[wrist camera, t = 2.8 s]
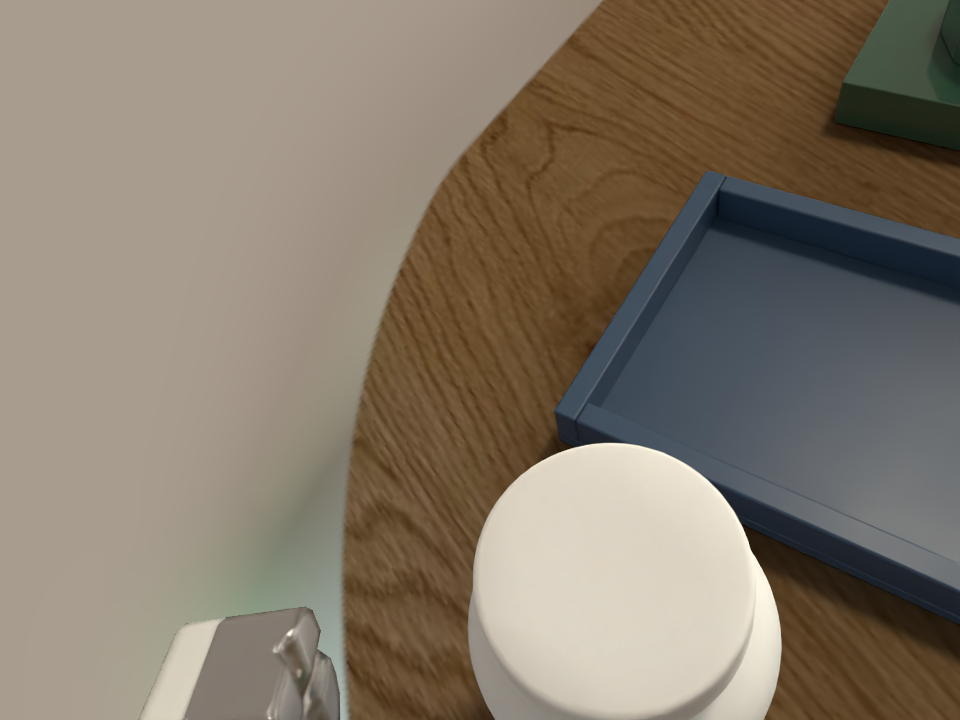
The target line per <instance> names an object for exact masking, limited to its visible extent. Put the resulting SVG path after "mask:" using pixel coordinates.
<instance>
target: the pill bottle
mask: <svg viewBox="0 0 960 720" xmlns="http://www.w3.org/2000/svg"><path fill="white" fill-rule="evenodd" d="M468 639H469V649H470V656H471V662H472V666H473V669H474V673H475V676H476V680H477V683H478V685H479V688H480V690H481V693H482V695H483V697H484V700H485V702H486V704H487V706H488V708H489V710H490V712H491V713H492V715H493V717H494V719H495V720H764V718H765V715H766V713H767V711H768V708H769V706H770V704H771V701H772V698H773V695H774V692H775V689H776V684H777V680H778V675H779V670H780V659H781V649H782V647H781V631H780V623H779V617H778V612H777V608H776V604H775V600H774V597H773V594H772V591H771V588H770V586H769V583H768V581H767V578H766V576H765V574H764V572H763V570H762V568H761V567H760V565H759V563H758V561H757V559H756V558H755V556H754V554H753V553H752V552H751V549H750V546H749V543H748V540H747V537H746V535H745V532H744V530H743V527H742V525H741V524H740V522H739V520H738V518H737V516H736V514H735V512H734V511H733V509H732V508H731V507H730V505H729V504H728V502H727V501H726V500H725V498H724V497H723V496H722V495H721V493H720V492H719V491H718V490H717V489H716V488H715V487H714V486H713V485H712V484H711V483H710V482H709V481H708V480H707V479H706V478H704V477H703V476H702V475H701V474H700V473H698V472H697V471H695V470H694V469H692V468H691V467H690V466H688V465H686V464H685V463H683V462H681V461H679V460H677V459H675V458H673V457H671V456H669V455H667V454H665V453H663V452H659V451H656V450H653V449H649V448H646V447H642V446H638V445H631V444H622V443H601V444H590V445H585V446H580V447H576V448H572V449H569V450H566V451H563V452H560V453H557V454H555V455H553V456H551V457H549V458H547V459H545V460H543V461H541V462H539V463H538V464H536V465H534V466H533V467H531V468H530V469H529V470H527V471H526V472H524V473H523V474H522V475H521V476H520V477H519V478H518V479H517V480H516V481H514V482H513V483H512V484H511V485H510V486H509V487H508V488H507V490H506V491H505V492H504V493H503V495H502V496H501V497H500V498H499V500H498V501H497V502H496V504H495V505H494V507H493V509H492V510H491V512H490V514H489V515H488V518H487V520H486V522H485V525H484V527H483V529H482V532H481V535H480V538H479V541H478V544H477V548H476V553H475V559H474V567H473V591H472V595H471V601H470V607H469V617H468Z"/></svg>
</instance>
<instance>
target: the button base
mask: <svg viewBox="0 0 960 720" xmlns="http://www.w3.org/2000/svg"><path fill="white" fill-rule="evenodd" d="M834 122H836V123H840V124H844V125H849V126H853V127H858V128H862V129H866V130H871V131H875V132H879V133H884V134H888V135H893V136H897V137H901V138H906V139H910V140H915V141H919V142H923V143H928V144H932V145H936V146H941V147H945V148H950V149H954V150H958V151H960V0H889V2H888V4H887V5H886V7H885V9H884V11H883V12H882V14H881V16H880V18H879V19H878V21H877V23H876V25H875V26H874V28H873V30H872V32H871V33H870V35H869V37H868V39H867V40H866V42H865V44H864V46H863V47H862V49H861V51H860V53H859V54H858V56H857V58H856V60H855V61H854V63H853V65H852V66H851V68H850V70H849V72H848V73H847V75H846V77H845V79H844V80H843V82H842V87H841V91H840V96H839V100H838V105H837V109H836V114H835V119H834Z"/></svg>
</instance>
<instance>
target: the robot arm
mask: <svg viewBox="0 0 960 720" xmlns="http://www.w3.org/2000/svg"><path fill="white" fill-rule="evenodd" d="M320 631H321V630H320V628H319V625H318V623H317V621H316V618H315V615H314V613H313V610H311V609H309V608H307V607H299V608H292V609H284V610H277V611H270V612H262V613H254V614H247V615H239V616H232V617H226V618H225V619H216V620H208V621H201V622H194V623H186V624H185V625H184V626H183V627H181V628H180V629H179V630H178V631H177V632H176V633H175V635H174V638H173V640H172V642H171V645H170V647H169V649H168V652H167V654H166V656H165V659H164V661H163V663H162V665H161V668H160V670H159V672H158V675H157V677H156V679H155V682H154V684H153V686H152V688H151V691H150V693H149V695H148V698H147V700H146V702H145V705H144V707H143V709H142V711H141V714H140V716H139V719H138V720H340V692H339V687H338V682H337V677H336V672H335V670H334V666H333V664H332V661H331V658H330V657H328V656H327V655H325V654H324V653H322V652H321V651H319V650H318V649H317V647H318V642H319V637H320Z"/></svg>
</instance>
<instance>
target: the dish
mask: <svg viewBox="0 0 960 720" xmlns="http://www.w3.org/2000/svg"><path fill="white" fill-rule="evenodd" d="M554 413H555V418H556V422H557V426H558V431H559V437H560V440H561V441H564V442H566V443H568V444H570V445H572V446H574V447H580V446H585V445H590V444H601V443H622V444H631V445H638V446H642V447H646V448H649V449H653V450H656V451H659V452H663V453H665V454H667V455H669V456H671V457H673V458H675V459H677V460H679V461H681V462H683V463H685V464H686V465H688V466H690V467H691V468H692V469H694V470H695V471H697V472H698V473H700V474H701V475H702V476H703V477H704V478H706V479H707V480H708V481H709V482H710V483H711V484H712V485H713V486H714V487H715V488H716V489H717V490H718V491H719V492H720V493H721V495H722V496H723V497H724V498H725V500H726V501H727V502H728V504H729V505H730V507H731V508H732V509H733V511H734V512H735V514H736V516H737V518H738V520H739V522H740V523H741V524H743V525H745V526H747V527H749V528H751V529H754V530H756V531H758V532H760V533H762V534H764V535H767V536H769V537H771V538H773V539H775V540H777V541H779V542H782V543H784V544H786V545H788V546H790V547H792V548H795V549H797V550H799V551H801V552H803V553H805V554H808V555H810V556H812V557H814V558H816V559H818V560H821V561H823V562H825V563H827V564H829V565H831V566H833V567H836V568H838V569H840V570H842V571H844V572H846V573H849V574H851V575H853V576H855V577H857V578H859V579H862V580H864V581H866V582H868V583H870V584H872V585H874V586H877V587H879V588H881V589H883V590H885V591H887V592H890V593H892V594H894V595H896V596H898V597H900V598H903V599H905V600H907V601H909V602H911V603H913V604H916V605H918V606H920V607H922V608H924V609H926V610H928V611H931V612H933V613H935V614H937V615H939V616H941V617H944V618H946V619H948V620H950V621H952V622H954V623H957V624H959V625H960V239H958V238H954V237H950V236H947V235H943V234H939V233H936V232H932V231H928V230H925V229H921V228H917V227H914V226H910V225H906V224H902V223H899V222H895V221H891V220H888V219H884V218H880V217H877V216H873V215H869V214H866V213H862V212H858V211H855V210H851V209H847V208H844V207H840V206H836V205H833V204H829V203H825V202H822V201H818V200H814V199H811V198H807V197H803V196H799V195H796V194H792V193H788V192H785V191H781V190H777V189H774V188H770V187H766V186H763V185H759V184H755V183H752V182H748V181H744V180H741V179H737V178H733V177H730V176H728V177H727V178H726V176H725V175H723V174H719V173H715V172H712V171H706V172H705V174H704V176H703V177H702V179H701V180H700V182H699V183H698V185H697V187H696V188H695V190H694V191H693V193H692V194H691V196H690V198H689V199H688V201H687V202H686V204H685V205H684V207H683V209H682V210H681V212H680V213H679V215H678V217H677V218H676V220H675V221H674V223H673V224H672V226H671V228H670V229H669V231H668V232H667V234H666V235H665V237H664V239H663V240H662V242H661V243H660V245H659V246H658V248H657V250H656V251H655V253H654V254H653V256H652V257H651V259H650V261H649V262H648V264H647V265H646V267H645V269H644V270H643V272H642V273H641V275H640V276H639V278H638V280H637V281H636V283H635V284H634V286H633V287H632V289H631V291H630V292H629V294H628V295H627V297H626V298H625V300H624V302H623V303H622V305H621V306H620V308H619V309H618V311H617V313H616V314H615V316H614V317H613V319H612V321H611V322H610V324H609V325H608V327H607V328H606V330H605V332H604V333H603V335H602V336H601V338H600V339H599V341H598V343H597V344H596V346H595V347H594V349H593V350H592V352H591V354H590V355H589V357H588V358H587V360H586V361H585V363H584V365H583V366H582V368H581V369H580V371H579V372H578V374H577V376H576V377H575V379H574V380H573V382H572V384H571V385H570V387H569V388H568V390H567V391H566V393H565V395H564V396H563V398H562V399H561V401H560V402H559V404H558V406H557V407H556V409H555V410H554Z"/></svg>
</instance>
